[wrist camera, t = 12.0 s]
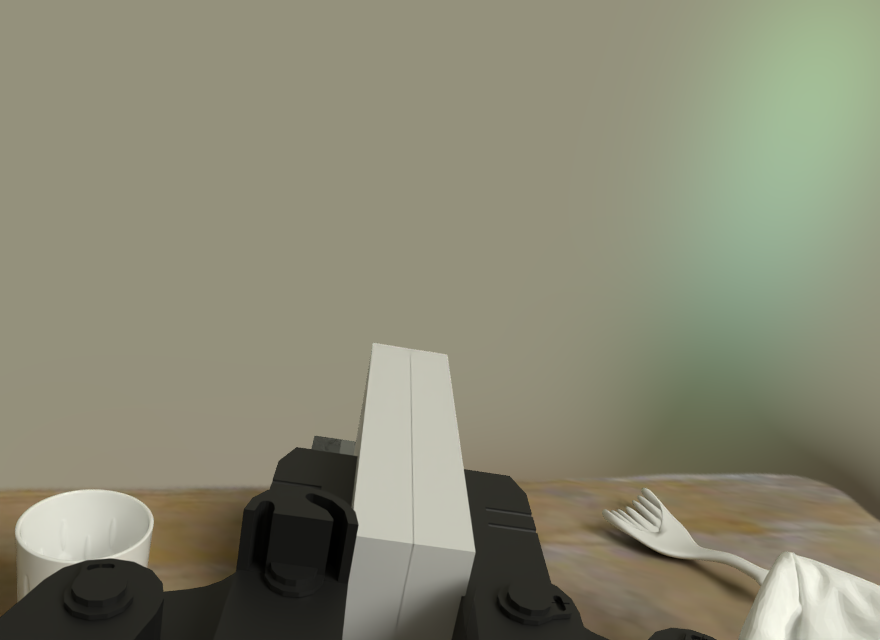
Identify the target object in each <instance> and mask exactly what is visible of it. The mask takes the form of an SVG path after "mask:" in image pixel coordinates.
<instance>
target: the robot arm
mask: <svg viewBox="0 0 880 640" xmlns="http://www.w3.org/2000/svg"><path fill="white" fill-rule="evenodd" d="M531 514H532V513H531V509H530V506H529V502H528V499H527V495H526V493H525V492H524V491H523V490H522V489H521V488H520V487H519V486H518V485H517V484H516V483H515V481H514V480H513V479H512V478H511V477H510V476H506V475H499V474H492V473H486V472H479V471H472V470H465V469H464V468H463V462H462V454H461V448H460V440H459V433H458V426H457V419H456V412H455V405H454V398H453V391H452V385H451V377H450V370H449V363H448V356H447V355H446V354H440V353H434V352H428V351H421V350H415V349H409V348H403V347H397V346H390V345H384V344H378V343H373V346H372V351H371V357H370V363H369V369H368V375H367V381H366V387H365V393H364V398H363V404H362V410H361V416H360V422H359V428H358V433H357V440H356V445H355V451H354V456H353V455H347V454H340V453H333V452H326V451H319V450H312V449H305V448H298V447H296V448H295V449H294V450H292V451H291V452H290V453H288V454H287V455H286V456H285V457H283V458H282V459H281V460H280V461H279V462H278V465H277V468H276V471H275V474H274V477H273V482H272V484H271V487H270V490H267V491H265V492H263V493H261V494H259V495H257V496H255V497H253V498H252V499H251V501H250V502H249V503H248V505H247V506H246V507H245V508H244V513H243V521H242V529H241V537H240V545H239V553H238V561H237V569H236V572H235V573H234V574H232V575H231V576H229V577H227V578H226V579H224V580H222V581H220V582H217V583H214V584H211V585H208V586H205V587H199V588H193V589H187V590H177V591H166V592H163V584H162V582H161V581H160V579H159V578H158V577H157V576H156V575H155V573H154V572H153V571H152V570H150V569H148V568H146V567H144V566H142V565H140V564H138V563H136V562H133V561H126V560H120V559H113V558H108V559H95V560H86V561H83V562H79V563H76V564H73V565H70V566H66V567H63V568H62V569H60V570H58V571H57V572H55V573H54V574H52V575H50V576H49V577H47V578H46V579H44V580H43V581H42V582H41V583H39V584H38V585H37V586H36V587H35V588H34V589H32V590H31V591H30V592H29V593H28V594H27V595H26V596H24V597H23V598H22V599H21V600H20V601H19V602H18V603H16V604H15V605H14V606H13V607H12V608H11V609H9V610H8V611H7V612H6V613H5V614H4V615H3V616H1V617H0V640H609V639H606V638H604V637H602V636H600V635H597V634H595V633H593V632H591V631H590V630H588V629H586V628H585V627H584V626H583V623H582V620H581V616H580V613H579V611H578V610H577V608H576V606H575V604H574V603H573V601H572V599H571V598H570V597H568V596H567V595H566V594H565V593H564V592H563V591H562V590H560V589H559V588H558V587H557V586H555V585H553V584H551V581H550V577H549V574H548V570H547V567H546V563H545V559H544V556H543V552H542V549H541V545H540V542H539V538H538V534H537V533H536V527H535V524H534V520H533V517H531ZM648 640H716V639H714V638H713V637H710V636H707V635H705V634H702V633H699V632H696V631H693V630H688V629H678V628H669V629H665V630H661V631H657V632H655V633H654V634H653V635H652V636H651V637H650V638H649V639H648Z"/></svg>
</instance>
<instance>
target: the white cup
mask: <svg viewBox="0 0 880 640" xmlns="http://www.w3.org/2000/svg"><path fill="white" fill-rule="evenodd" d="M153 525H154V519H153V515H152V513H151V511H150V510H149V508H148V507H147V506H146V505H145V504H144V503H142V502H141V501H140V500H138V499H136V498H134V497H132V496H129V495H127V494H123V493H120V492H115V491H109V490H96V489H90V490H77V491H70V492H65V493H61V494H57V495H54V496H51V497H49V498H46V499H44V500H42V501H40V502H38V503H36V504H34V505H33V506H31V507H30V508H29V509H27V510H26V511H25V512H24V513H23V514H22V515H21V517H20V518H19V520H18V521H17V524H16V527H15V544H16V570H17V598H18V602H19V601H20V600H21V599H22V598H23V597H24V596H26V595H27V594H28V593H29V592H30V591H31V590H32V589H34V588H35V587H36V586H37V585H38V584H39V583H41V582H42V581H43V580H44V579H46V578H47V577H49V576H50V575H52V574H54V573H55V572H57V571H58V570H60V569H62V568H63V567H66V566H70V565H73V564H76V563H79V562H83V561H86V560H95V559H108V558H113V559H120V560H126V561H133V562H136V563H138V564H140V565H142V566H144V567H146V568H147V567H148V560H149V552H150V545H151V538H152V531H153Z"/></svg>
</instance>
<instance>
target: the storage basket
mask: <svg viewBox="0 0 880 640" xmlns="http://www.w3.org/2000/svg"><path fill="white" fill-rule="evenodd" d="M738 640H880V586H878V585H876V584H874V583H871V582H869V581H867V580H864V579H862V578H859V577H857V576H854V575H852V574H849V573H846V572H843V571H841V570H838V569H835V568H833V567H830V566H828V565H825V564H823V563H820V562H817V561H815V560H812V559H809V558H805V557H801V556H797V555H796V554H794V553H793V552H783V553H781V554H780V555H779V556H778V558H777V559H776V561H775V563H774V564H773V566H772V567H771V569H770V570H769V572H768V574H767V576H766V578H765V580H764V581H763V583H762V586H761V588H760V590H759V592H758V594H757V596H756V598H755V600H754V603H753V605H752V607H751V609H750V612H749V614H748V616H747V618H746V620H745V623H744V625H743V627H742V630H741V633H740V636H739V639H738Z"/></svg>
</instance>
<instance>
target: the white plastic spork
mask: <svg viewBox="0 0 880 640" xmlns="http://www.w3.org/2000/svg"><path fill="white" fill-rule="evenodd" d="M641 492H642V494H643V496H644V497H645V498H646V499H647V500H646V499H645V498H644V497H642V496H639V495H638V496H637V498H638V500H639V501H640V503H641V504H642V505H643V506H642V505H641V504H639V503H638V502H636V501H634V500H633V501H632V502H633V505H634V506H635V508H636V509H637V511H638V512H639V513H640V514H641V515H642V516H643V517H642V516H641V515H640V514H638V513H637V512H636V511H634V510H633V509H632V508H630V507H626V511H627V513H628V514H629V516H628V515H627V514H626V513H625V512H623V511H622V510H620V509H617V512H618V513H617V512H616V511H613V510H611V512H609V511H607V510H603V511H602V514H603V517H604V518H605V519H606V520H607V521H608V522H609V523H610V524H612V525H613V526H615V527H616V528H618V529H619V530H621V531H623V532H624V533H626V534H628V535H630V536H631V537H633V538H635V539H636V540H638V541H639V542H641V543H643V544H644V545H646V546H647V547H649V548H651V549H653V550H655V551H657V552H659V553H661V554H663V555H666V556H670V557H674V558H680V559H689V560H704V561H713V562H718V563H723V564H726V565H729V566H731V567H734V568H736V569H738V570H740V571H741V572H743V573H745V574H747V575H748V576H750V577H751V578H753V579H754V580H756V581H757V583H758V584H759V585H760V586H762V583H763V581H764V580H765V578H766V576H767V574H768V572H769V570H766V569H763V568H761V567H758V566H756V565H754V564H752V563H750V562H748V561H746V560H745V559H743V558H741V557H738V556H735V555H733V554H730V553H726V552H722V551H716V550H711V549H706V548H703V547H700V546H699V545H697V544H696V543H695V542H694V540H693V539H692V537H691V536H690V534H689V533H688V531H687V530H686V529H685V528H684V526H683V525H682V524H681V523H680V522H679V521H678V520H676V519H675V518H674V517H673V516H672V515H671V514H670V512H669V511H668V510H667V509H666V508H665V506H664V505H663V504H662V503H661V502H660V500H659V499H658V498H657V497H656V496H655V495H654V494H653V493H652V492H651V491H650V490H648V489H647V488H642V489H641Z"/></svg>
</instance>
